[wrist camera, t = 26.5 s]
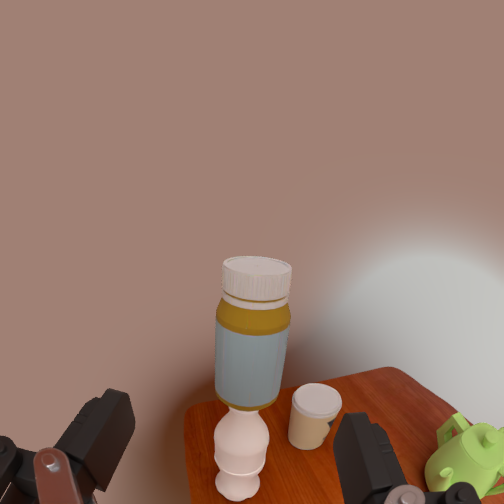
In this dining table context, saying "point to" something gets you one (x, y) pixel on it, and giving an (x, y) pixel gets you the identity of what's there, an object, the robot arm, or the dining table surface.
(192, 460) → the dining table surface
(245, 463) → the water bottle
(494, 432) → the teapot
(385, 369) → the dining table surface
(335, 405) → the coffee cup
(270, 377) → the bottle
